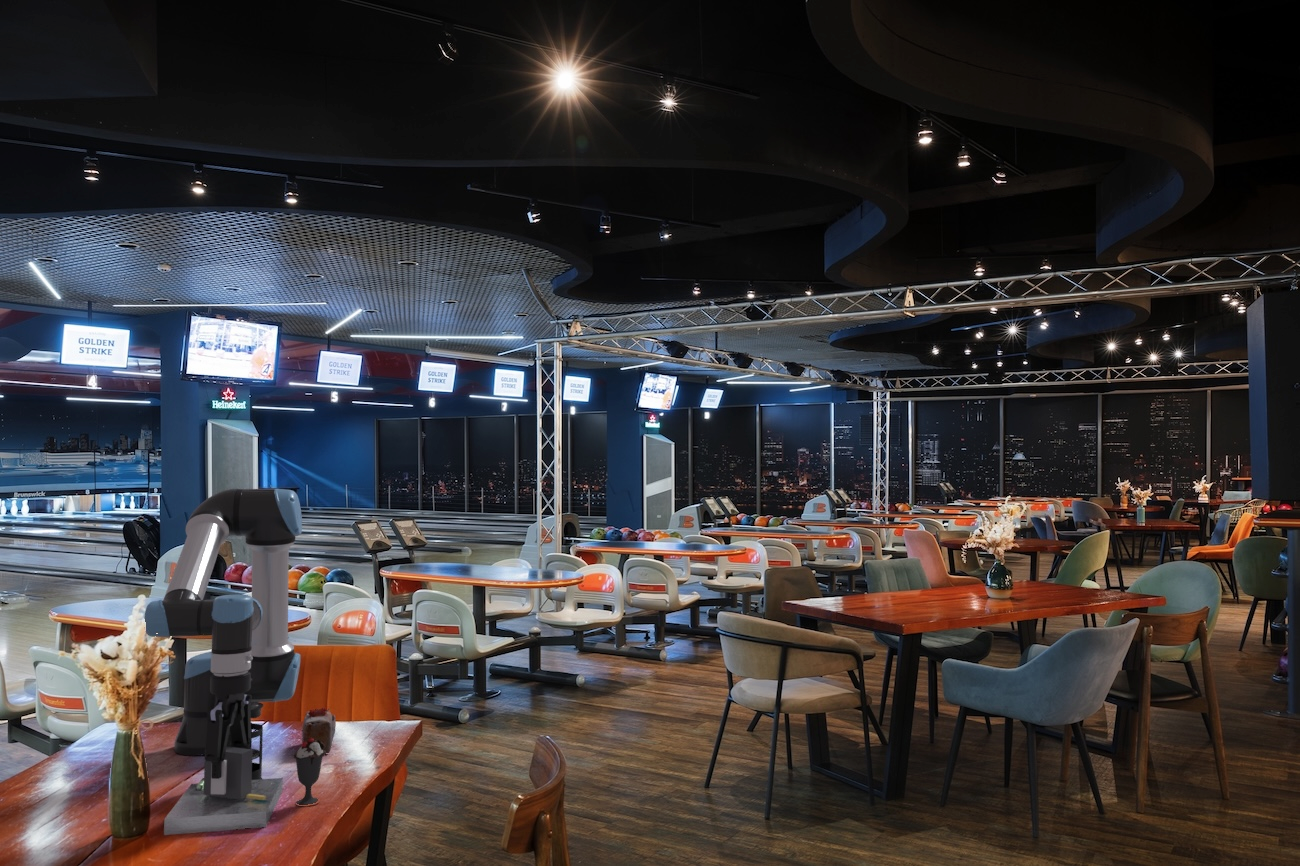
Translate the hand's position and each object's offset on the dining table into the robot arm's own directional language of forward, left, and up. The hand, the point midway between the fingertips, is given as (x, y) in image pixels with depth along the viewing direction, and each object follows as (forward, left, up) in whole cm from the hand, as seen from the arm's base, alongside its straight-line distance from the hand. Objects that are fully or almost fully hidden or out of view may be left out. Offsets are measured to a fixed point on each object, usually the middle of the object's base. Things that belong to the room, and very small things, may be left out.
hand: (227, 787), depth 184 cm
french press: (-18, -1, -5) cm, 19 cm away
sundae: (-2, +15, -5) cm, 16 cm away
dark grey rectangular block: (+1, +2, -1) cm, 3 cm away
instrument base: (0, 0, -5) cm, 5 cm away
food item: (-42, +13, -5) cm, 44 cm away
